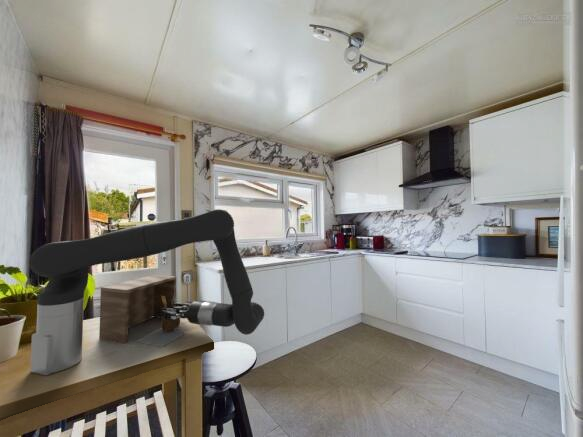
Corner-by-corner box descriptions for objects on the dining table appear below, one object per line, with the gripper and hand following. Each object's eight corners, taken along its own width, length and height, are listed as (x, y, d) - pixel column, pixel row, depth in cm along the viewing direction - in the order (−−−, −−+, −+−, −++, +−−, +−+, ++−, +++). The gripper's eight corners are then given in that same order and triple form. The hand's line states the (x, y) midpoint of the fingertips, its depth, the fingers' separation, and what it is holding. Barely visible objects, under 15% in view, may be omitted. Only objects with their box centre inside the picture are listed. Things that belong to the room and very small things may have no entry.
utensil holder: (184, 325, 88) (183, 292, 88) (168, 332, 82) (168, 296, 83) (172, 323, 91) (172, 290, 91) (156, 329, 85) (156, 295, 85)
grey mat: (162, 346, 76) (162, 344, 76) (137, 342, 79) (137, 340, 79) (185, 333, 86) (185, 331, 86) (161, 329, 89) (162, 327, 89)
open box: (124, 343, 78) (126, 290, 78) (99, 338, 81) (100, 287, 82) (175, 318, 99) (176, 276, 100) (153, 315, 102) (154, 274, 103)
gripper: (217, 295, 90) (179, 292, 94) (191, 308, 76) (148, 303, 81) (217, 316, 89) (179, 312, 94) (191, 333, 76) (147, 326, 80)
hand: (165, 308), depth 87 cm, fingers closed on utensil holder, 5 cm apart
